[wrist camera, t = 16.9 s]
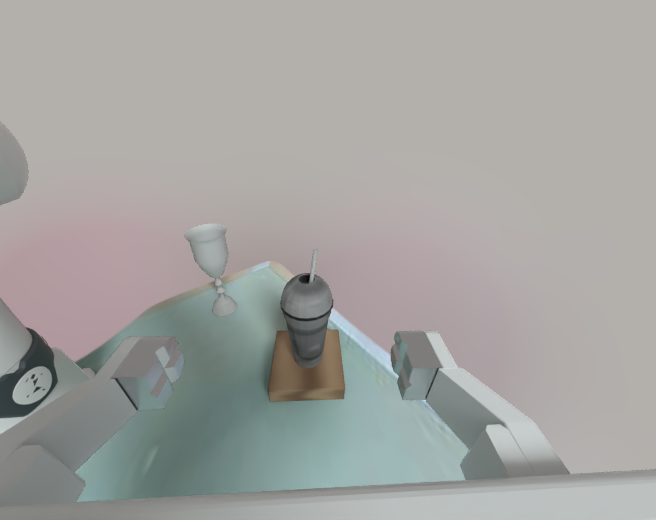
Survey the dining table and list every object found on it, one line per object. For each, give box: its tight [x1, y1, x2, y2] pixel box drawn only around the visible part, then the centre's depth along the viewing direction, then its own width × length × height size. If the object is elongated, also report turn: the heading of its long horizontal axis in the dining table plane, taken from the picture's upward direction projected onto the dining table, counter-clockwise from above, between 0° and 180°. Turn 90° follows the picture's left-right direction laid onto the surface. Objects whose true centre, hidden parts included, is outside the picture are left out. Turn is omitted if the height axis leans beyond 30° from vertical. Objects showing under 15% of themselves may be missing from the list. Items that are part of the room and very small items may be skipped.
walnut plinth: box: [268, 330, 345, 402], centre depth 42 cm, size 11×11×3 cm
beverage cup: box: [281, 249, 333, 368], centre depth 36 cm, size 7×7×20 cm
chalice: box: [185, 224, 237, 317], centre depth 49 cm, size 7×7×18 cm
